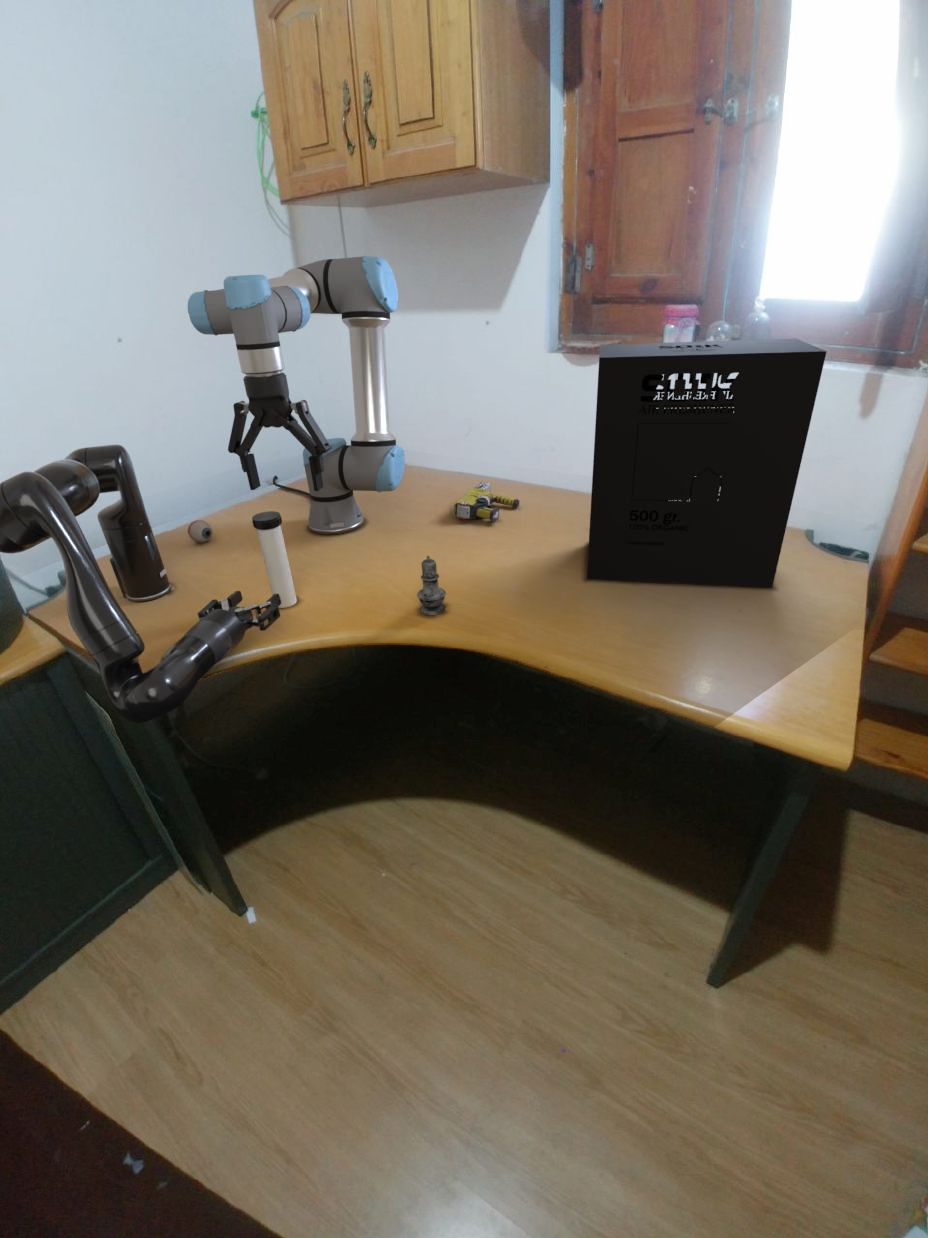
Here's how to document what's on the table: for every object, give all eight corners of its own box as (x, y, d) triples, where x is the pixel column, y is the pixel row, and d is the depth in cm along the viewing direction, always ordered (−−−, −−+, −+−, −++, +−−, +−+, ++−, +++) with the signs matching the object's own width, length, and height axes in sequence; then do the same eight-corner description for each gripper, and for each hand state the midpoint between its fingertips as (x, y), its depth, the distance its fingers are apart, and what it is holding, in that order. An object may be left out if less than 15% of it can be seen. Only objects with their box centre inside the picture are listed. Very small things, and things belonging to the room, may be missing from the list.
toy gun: (527, 487, 180) (480, 479, 184) (505, 511, 160) (452, 502, 164) (526, 502, 182) (479, 494, 186) (504, 527, 162) (452, 519, 166)
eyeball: (201, 547, 160) (195, 526, 157) (186, 543, 163) (180, 522, 160) (220, 539, 164) (214, 518, 161) (205, 536, 167) (199, 515, 164)
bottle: (287, 595, 133) (268, 512, 124) (301, 600, 131) (283, 516, 121) (270, 604, 130) (249, 519, 120) (284, 609, 127) (264, 523, 118)
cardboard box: (752, 548, 142) (795, 338, 119) (772, 587, 124) (826, 351, 102) (589, 543, 149) (600, 344, 127) (586, 579, 132) (599, 357, 110)
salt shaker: (443, 616, 121) (439, 562, 115) (415, 615, 122) (409, 561, 116) (449, 602, 126) (446, 549, 120) (422, 601, 127) (417, 548, 121)
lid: (270, 517, 125) (268, 509, 124) (288, 522, 122) (286, 513, 121) (248, 526, 121) (245, 518, 120) (265, 531, 118) (263, 522, 117)
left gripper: (242, 624, 103) (287, 581, 117) (170, 617, 106) (222, 577, 120) (252, 660, 107) (295, 615, 120) (183, 653, 110) (232, 610, 124)
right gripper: (336, 368, 109) (353, 483, 120) (213, 372, 114) (239, 481, 125) (320, 374, 103) (338, 495, 113) (190, 378, 108) (220, 493, 118)
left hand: (258, 596), depth 120 cm, fingers open, 8 cm apart
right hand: (287, 488), depth 119 cm, fingers open, 13 cm apart
